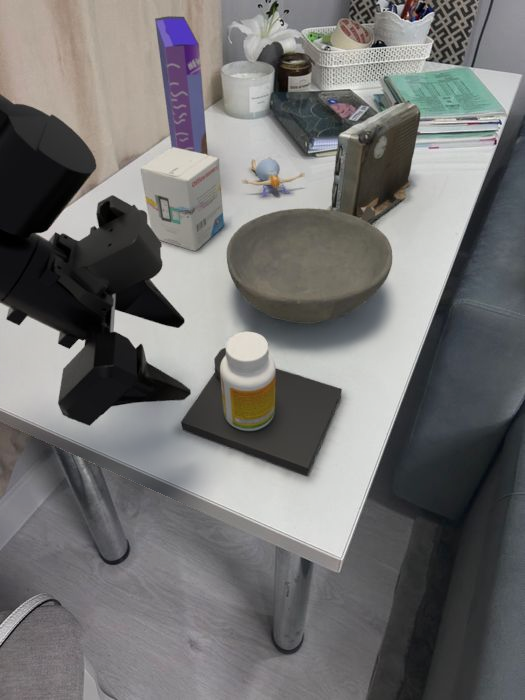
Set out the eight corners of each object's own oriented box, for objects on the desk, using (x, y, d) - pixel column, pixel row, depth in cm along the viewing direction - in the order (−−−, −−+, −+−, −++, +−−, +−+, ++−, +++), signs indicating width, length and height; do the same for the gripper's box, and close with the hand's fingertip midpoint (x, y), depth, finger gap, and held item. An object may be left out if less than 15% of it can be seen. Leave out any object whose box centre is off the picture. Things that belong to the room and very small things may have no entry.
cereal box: (211, 198, 90) (198, 43, 73) (184, 201, 89) (165, 45, 72) (197, 156, 102) (183, 15, 85) (173, 159, 101) (154, 16, 84)
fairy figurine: (290, 146, 97) (309, 167, 88) (290, 172, 100) (308, 194, 90) (230, 152, 95) (243, 174, 86) (232, 178, 98) (245, 202, 89)
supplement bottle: (285, 413, 54) (288, 347, 47) (246, 441, 51) (243, 376, 45) (252, 384, 57) (250, 318, 50) (213, 410, 54) (206, 343, 47)
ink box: (182, 213, 86) (173, 144, 78) (225, 226, 83) (221, 155, 75) (150, 238, 81) (138, 166, 73) (196, 252, 78) (188, 179, 70)
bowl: (360, 370, 60) (370, 319, 55) (201, 326, 66) (195, 275, 60) (396, 271, 74) (407, 222, 69) (262, 242, 80) (262, 194, 74)
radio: (389, 171, 97) (404, 86, 87) (430, 185, 93) (451, 98, 83) (312, 217, 85) (318, 126, 75) (355, 236, 81) (368, 142, 70)
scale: (180, 429, 54) (176, 411, 52) (229, 356, 62) (227, 338, 60) (307, 476, 50) (309, 458, 48) (342, 392, 58) (345, 374, 56)
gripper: (64, 271, 28) (264, 383, 37) (89, 134, 41) (232, 242, 50) (-33, 385, 32) (166, 460, 41) (18, 229, 45) (161, 312, 54)
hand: (184, 357), depth 47 cm, fingers open, 9 cm apart
